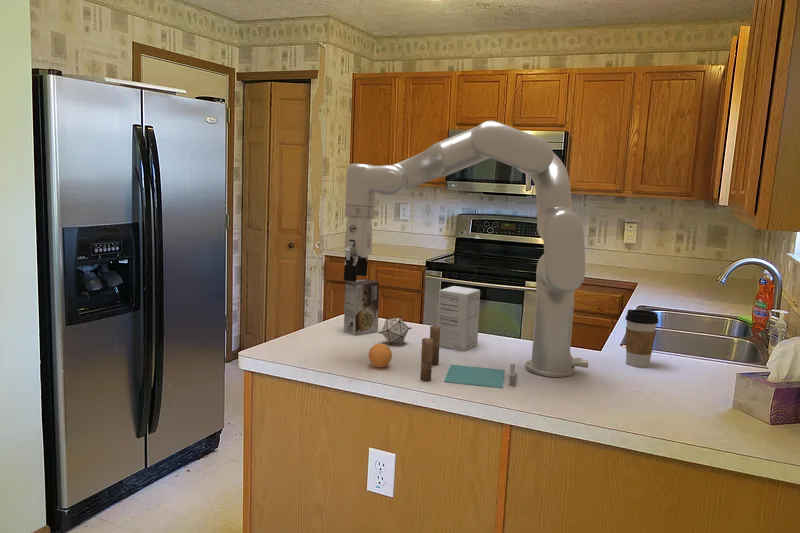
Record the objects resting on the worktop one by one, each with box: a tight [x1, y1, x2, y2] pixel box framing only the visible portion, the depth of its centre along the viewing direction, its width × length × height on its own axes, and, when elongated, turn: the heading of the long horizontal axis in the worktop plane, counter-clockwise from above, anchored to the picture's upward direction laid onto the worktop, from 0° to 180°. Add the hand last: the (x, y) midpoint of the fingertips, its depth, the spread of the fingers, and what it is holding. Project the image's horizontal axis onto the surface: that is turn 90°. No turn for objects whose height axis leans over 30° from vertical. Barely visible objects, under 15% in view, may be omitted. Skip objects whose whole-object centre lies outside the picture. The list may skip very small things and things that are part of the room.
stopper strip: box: [508, 363, 516, 387], centre depth 151 cm, size 1×10×2 cm, turn 169°
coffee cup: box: [625, 309, 659, 369], centre depth 167 cm, size 8×8×15 cm
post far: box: [429, 325, 440, 367], centre depth 160 cm, size 3×3×10 cm
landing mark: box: [443, 364, 505, 389], centre depth 152 cm, size 14×14×1 cm
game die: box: [378, 315, 412, 346], centre depth 179 cm, size 9×8×10 cm
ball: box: [368, 343, 393, 368], centre depth 157 cm, size 6×6×6 cm
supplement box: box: [436, 285, 481, 352], centre depth 179 cm, size 10×9×17 cm
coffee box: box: [343, 278, 380, 336], centre depth 191 cm, size 9×6×16 cm
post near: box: [419, 337, 433, 382], centre depth 148 cm, size 3×3×10 cm
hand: (355, 278), depth 159 cm, fingers open, 9 cm apart
